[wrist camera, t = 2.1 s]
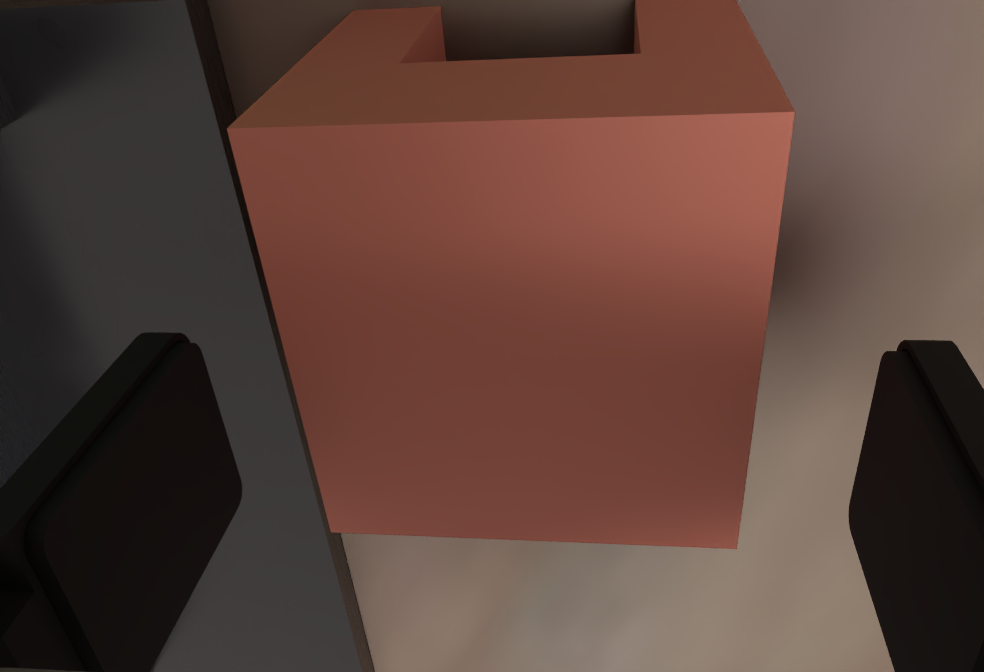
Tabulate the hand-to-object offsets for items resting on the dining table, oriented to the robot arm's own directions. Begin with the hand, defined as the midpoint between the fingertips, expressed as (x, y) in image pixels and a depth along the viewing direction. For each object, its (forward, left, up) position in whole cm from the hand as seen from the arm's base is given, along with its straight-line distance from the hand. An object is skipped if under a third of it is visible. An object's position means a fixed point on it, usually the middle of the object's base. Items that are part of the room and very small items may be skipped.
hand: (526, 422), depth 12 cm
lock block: (-1, 0, -6) cm, 6 cm away
